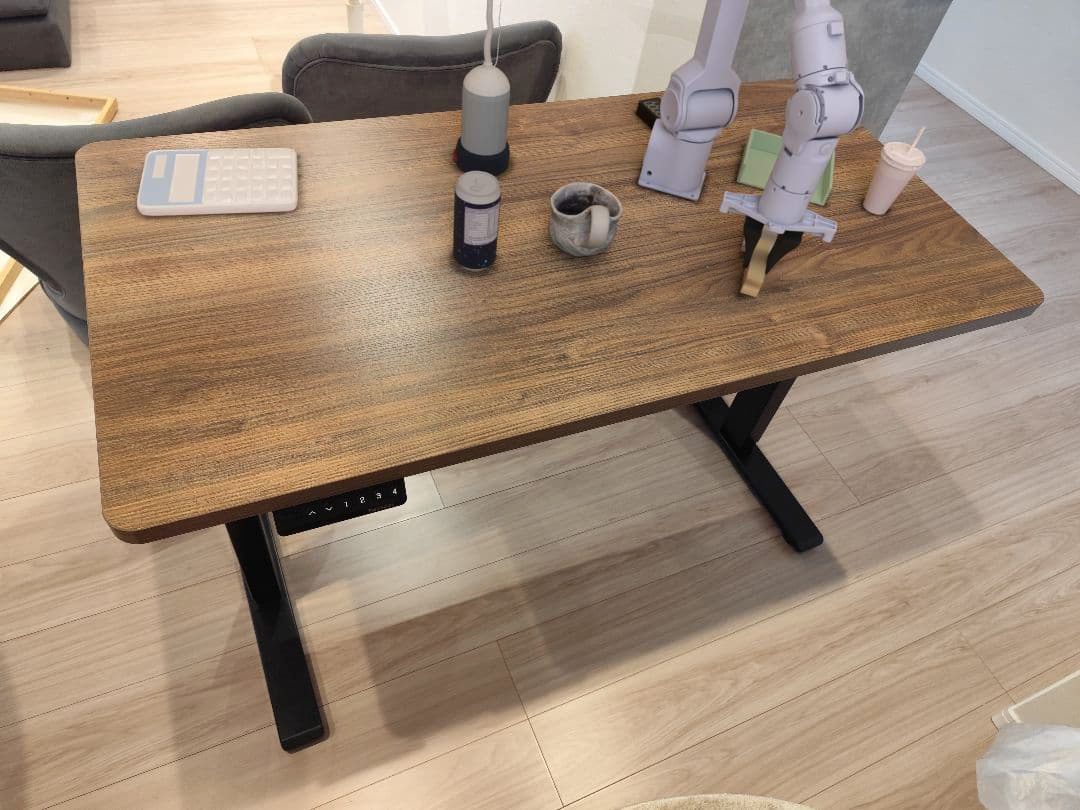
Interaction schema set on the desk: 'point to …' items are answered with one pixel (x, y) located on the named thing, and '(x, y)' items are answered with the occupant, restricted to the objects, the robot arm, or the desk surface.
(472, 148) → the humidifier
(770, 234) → the fork
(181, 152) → the calculator
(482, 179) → the beverage can
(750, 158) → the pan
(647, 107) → the multiport hub
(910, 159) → the smoothie
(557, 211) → the mug
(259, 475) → the desk surface
